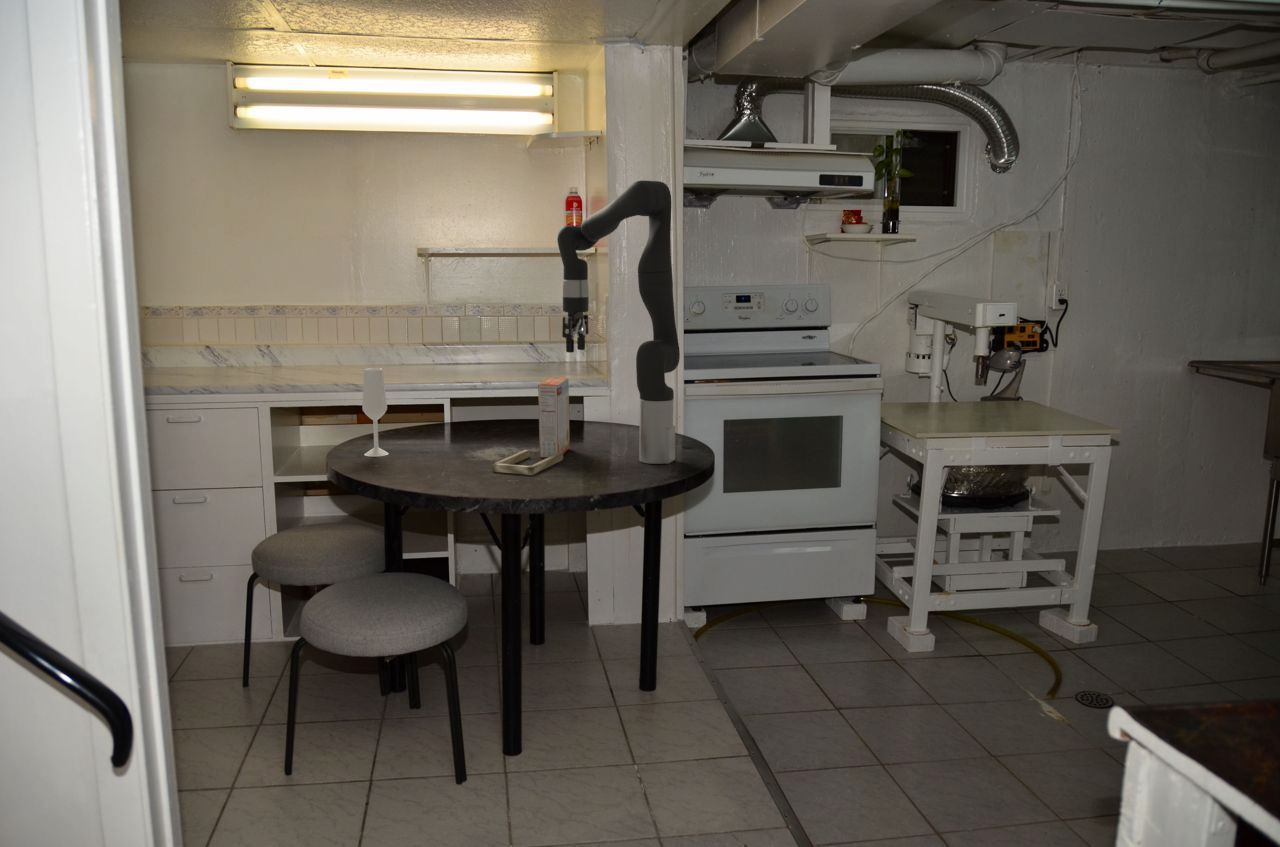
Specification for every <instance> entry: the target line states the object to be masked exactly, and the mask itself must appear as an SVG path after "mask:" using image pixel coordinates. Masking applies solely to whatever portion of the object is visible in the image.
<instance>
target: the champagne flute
mask: <svg viewBox="0 0 1280 847" xmlns="http://www.w3.org/2000/svg"><path fill="white" fill-rule="evenodd" d="M363 371H364V374H363V391H362V408H361V409H362V412H364V413H363V414H365V415H366V416H367V417H368V418H369V419H370V420H372V423H373V425H372V426H373V430H372V431H373V448H372V449H370V450H368V451H367V452H365V453H364V456H366V457H384V456H388V455H389V452H387V451H386V450H384V449H382V448H380V447H379V427H378V426H379V425H378V424H379V423H378V420H379V419H381V418H382V417H383V416H384V415H385V413H387V410H388V404H387V396H386V388H385V380H384V374H383V368H380V367H369V368H364V370H363Z"/></svg>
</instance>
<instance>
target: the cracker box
mask: <svg viewBox="0 0 1280 847" xmlns="http://www.w3.org/2000/svg"><path fill="white" fill-rule="evenodd" d="M569 386H570V385H569V378H568V377H564V378H563V377H549V378H548V379H546V380H545V381H543V382H541V383H539V384H537V389H538V390H537V391H538V392H537V393H538V395H537V396H538V398H537V399H538V427H539V428H538V430H539V434H538V435H539V438H538V439H539V440H538V441H539V458H541V459H546V458H548V457H550V456H552V455H555V454H557V453H559V452H560V453H563V455H564V454H565V453H567V451H568V450H569V449H570V407H569V406H570V404H569V403H570V399H569V397H570V394H569V393H570V392H569V391H570V390H569Z"/></svg>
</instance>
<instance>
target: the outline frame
mask: <svg viewBox="0 0 1280 847" xmlns="http://www.w3.org/2000/svg"><path fill="white" fill-rule="evenodd" d="M528 458H530V450H529V449H523V450H521V451H519V452H517V453H515V454H511V455H510V456H507V457H506V458H503V459H500V460H498V461H496V462H494V463H492V464H491V472H493V473H506V474H517V475H526V476H527V475H528V476H534V475H536V474H537V473H539V472H541V471H543V470H545V469H548V468H549V467H552V466H553V465H555V464H557V463H560V462H561V461H563V460H564V454H563V453H560V452H559V453H557V454H555V455H552V456H550V457H548V458H543V459H541V460H539V461H538V462H536V463H534V464H532V465H523V464H521V465H520V464H517V463H519V462H522V461H524V460H526V459H528Z"/></svg>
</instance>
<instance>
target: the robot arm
mask: <svg viewBox="0 0 1280 847" xmlns="http://www.w3.org/2000/svg"><path fill="white" fill-rule="evenodd" d="M636 216H639V217H640V216H641V217H648V239H647V241H646V244H645V246H644V249H643V251H642V253H641V256H640V258H639V261H638V264H637V265H638V266H637V281H638V282H637V283H638V292H639V295H640V298H641V301H642V302H643V304H644V307H645V308H646V310H647V313H648V314H649V318H650V320H651V323H652V332H653V337H652V338H653V340H648V341H644V342H643V343H641V344H640V345H639V347H638V349H637V352H636V357H635V360H636V361H635V362H636V364H635V367H636V369H635V370H636V373H635V374H636V387H637V390H638V393H639V433H638V434H639V436H638V437H639V439H638V440H639V441H638V442H639V446H638V447H639V449H638V450H639V451H638V455H639V456H638V458H639V459H638V460H639V462H640V463H644V464H651V465H652V464H653V465H654V464H655V465H657V464H659V465H660V464H661V465H663V464H670V463H672V462H673V461H675V460H676V426H675V425H674V406H675V405H674V403H675V402H674V399H675V398H674V397H675V395H674V393H675V391H674V388H672V387H671V386H668V385H667V383H666V379H665V378H666V376H665V375H666V374H668V373H671V372H673V371H675V370H676V369H677V368H678V366H679V364H680V359H681V355H680V354H681V353H680V344H679V338H678V332H677V325H676V316H675V302H674V301H675V300H674V285H673V284H674V282H673V281H674V280H673V266H672V252H671V251H672V249H671V247H672V246H671V244H672V243H671V228H672V226H671V223H672V194H671V190H670V187H669V186H668V184H666V183H665V182H663V181H658V180H644V179H643V180H637V181H635V182H633V183H632V184H631V185H630V186H628V187H627V188H626V189H624V190H623V191H622V192H621V193H620V194H619V195H618V196H617V197H616V198H614V200H612V201H611V202H610V203H609V204H607V205H606V206H604V207H603V208H601V209H599V210H598V211H596V212H594V213H593V214H591V215H589V216H587V217H586V218H585V219H583V220H582V222H581V225H564V226H562V227H561V228H560V229H559V231H558V234H557V246H558V250H559V253H560V258H561V262H562V264H563V265H562V266H563V283H562V311H563V312H564V313H567V316H563V317H562V329H561V330H562V335H561V336H562V338H564V339H565V352H566V353H570V354H571V353H574V352H575V338H576V337H575V336H577V345H576V346H577V350H578V351H584V350H586V338H587V335H589V315H588V314H585V313H588V312H589V305H590V304H589V303H590V302H589V299H590V298H589V293H590V292H589V291H590V290H589V282H588V281H589V278H588V277H589V275H588V272H589V270H588V269H589V267H588V262H587V260H585V259H583V258H579V257H578V254H577V251H580V252H581V251H587V250H590V249H591V248H593V247H594V246H595V245H596V243H598V242H599V240H601V239H602V238H605V237H607V236H608V235H611V234H612V233H613V232H615V231H616V230H617V229H618V228H619V225H620V223H622V221H624V220H626V219H628V218H632V217H636Z"/></svg>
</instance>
